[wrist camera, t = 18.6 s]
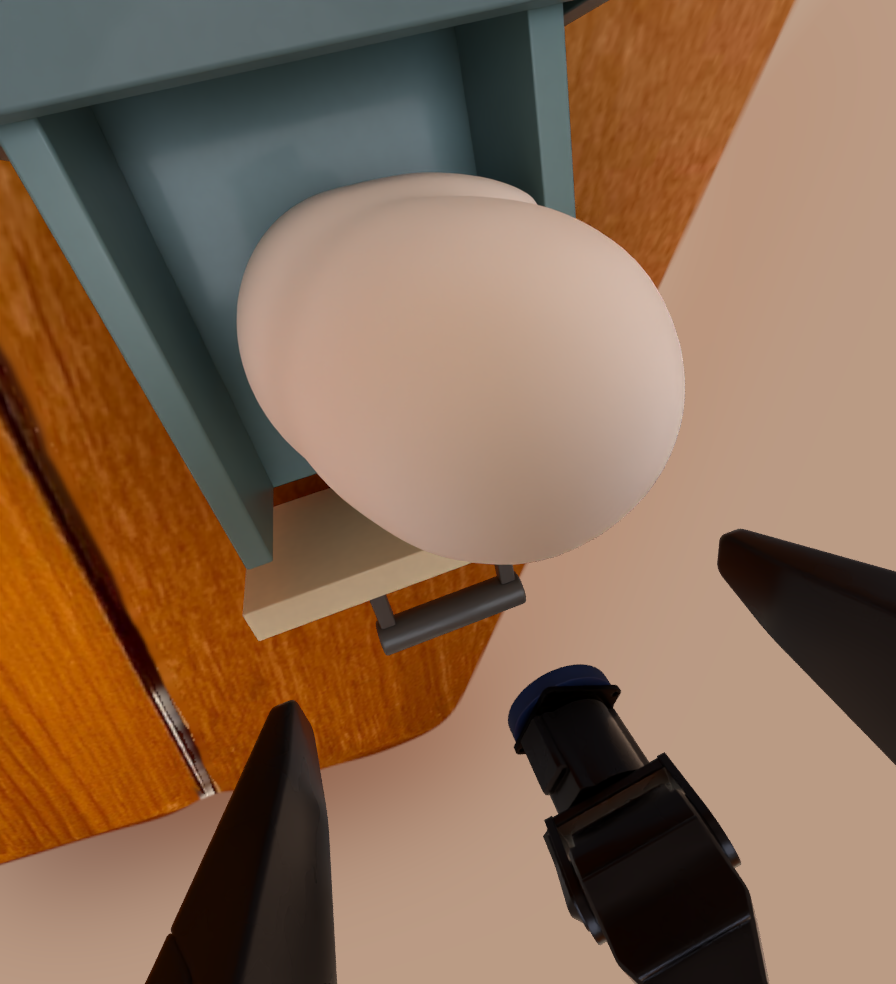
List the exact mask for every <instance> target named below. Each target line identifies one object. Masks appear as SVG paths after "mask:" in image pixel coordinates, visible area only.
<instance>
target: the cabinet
mask: <svg viewBox="0 0 896 984" xmlns="http://www.w3.org/2000/svg"><path fill="white" fill-rule="evenodd" d="M607 1H608V0H0V125H3V124H8V123H13V122H17V121H22V120H26V119H31V118H36V117H40V116H45V115H49V114H54V113H58V112H63V111H68V110H72V109H77V108H81V107H86V106H91V105H95V104H100V103H104V102H109V101H113V100H118V99H123V98H127V97H132V96H136V95H141V94H146V93H150V92H155V91H159V90H164V89H168V88H173V87H178V86H182V85H187V84H191V83H196V82H201V81H205V80H210V79H214V78H219V77H223V76H228V75H233V74H237V73H242V72H246V71H251V70H256V69H260V68H265V67H269V66H274V65H278V64H283V63H288V62H292V61H297V60H301V59H306V58H311V57H315V56H320V55H324V54H329V53H333V52H338V51H343V50H347V49H352V48H356V47H361V46H366V45H370V44H375V43H379V42H384V41H388V40H393V39H398V38H402V37H407V36H411V35H416V34H421V33H425V32H430V31H434V30H439V29H444V28H448V27H453V26H457V25H462V24H466V23H471V22H476V21H480V20H485V19H489V18H494V17H499V16H503V15H508V14H512V13H517V12H521V11H526V10H531V9H535V8H540V7H544V6H549V5H554V4H558V3H563V16H564V26H566V25H567V24H569V23H571V22H573V21H574V20H576V19H578V18H579V17H581V16H583V15H584V14H586V13H588V12H590V11H591V10H593V9H595V8H596V7H598V6H600V5H601V4H603V3H605V2H607ZM0 160H6V161H9V159H8V157H7V155H6V154H5V152H4V150H3V148H2V147H1V145H0Z"/></svg>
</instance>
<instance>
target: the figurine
mask: <svg viewBox="0 0 896 984" xmlns="http://www.w3.org/2000/svg"><path fill="white" fill-rule="evenodd" d="M237 338H238V345H239V351H240V356H241V360H242V364H243V367H244V370H245V374H246V376H247V379H248V382H249V384H250V387H251V389H252V391H253V393H254V395H255V397H256V399H257V401H258V403H259V405H260V406H261V408H262V410H263V411H264V413H265V414H266V416H267V417H268V419H269V420H270V422H271V423H272V425H273V426H274V427H275V428H276V430H277V431H278V432H279V433H280V434H281V436H282V437H283V438H284V439H285V440H286V441H287V442H288V443H289V444H290V445H291V446H292V447H293V448H294V449H295V450H296V451H297V452H298V453H299V454H301V455H302V456H303V457H304V458H305V459H306V460H307V461H308V463H309V464H310V465H311V466H312V468H313V469H314V470H315V471H316V472H317V474H318V475H319V476H320V477H321V478H322V479H323V480H324V481H325V483H326V484H327V485H328V486H329V487H330V488H331V489H333V490H334V491H335V492H336V493H337V494H338V495H339V496H340V497H341V498H342V499H343V500H345V501H346V502H347V503H348V504H350V505H351V506H352V507H353V508H355V509H356V510H357V511H359V512H360V513H361V514H363V515H364V516H366V517H367V518H368V519H370V520H371V521H373V522H374V523H376V524H377V525H379V526H380V527H382V528H383V529H385V530H386V531H388V532H389V533H391V534H393V535H394V536H396V537H398V538H400V539H401V540H403V541H405V542H407V543H409V544H411V545H413V546H415V547H417V548H419V549H422V550H424V551H427V552H429V553H432V554H435V555H439V556H442V557H446V558H450V559H455V560H460V561H466V562H473V563H483V564H496V565H512V564H523V563H531V562H537V561H541V560H545V559H548V558H552V557H555V556H558V555H561V554H564V553H566V552H568V551H571V550H573V549H575V548H578V547H579V546H582V545H584V544H585V543H587V542H589V541H591V540H593V539H594V538H596V537H598V536H599V535H601V534H603V533H604V532H606V531H607V530H608V529H609V528H611V527H612V526H613V525H615V524H616V523H617V522H619V521H620V520H621V519H622V518H623V517H625V516H626V515H627V514H628V513H629V512H630V511H631V510H632V509H633V508H634V507H635V506H636V505H637V504H638V503H639V502H640V501H641V500H642V499H643V498H644V497H645V496H646V494H647V493H648V492H649V490H650V489H651V488H652V486H653V485H654V483H655V482H656V480H657V479H658V477H659V476H660V474H661V472H662V471H663V469H664V467H665V465H666V463H667V461H668V459H669V457H670V455H671V452H672V450H673V447H674V445H675V442H676V439H677V436H678V432H679V429H680V426H681V421H682V416H683V411H684V400H685V399H684V398H685V375H684V365H683V357H682V351H681V346H680V342H679V339H678V336H677V333H676V330H675V326H674V324H673V320H672V318H671V316H670V314H669V311H668V309H667V307H666V305H665V302H664V301H663V298H662V296H661V294H660V293H659V291H658V290H657V288H656V287H655V285H654V283H653V282H652V280H651V279H650V277H649V276H648V274H647V273H646V272H645V271H644V270H643V268H642V267H641V266H640V265H639V264H638V262H637V261H636V260H635V259H634V258H633V257H632V256H631V255H629V254H628V253H627V252H626V251H625V250H624V249H623V248H622V247H621V246H619V245H618V244H617V243H615V242H614V241H613V240H611V239H610V238H608V237H607V236H605V235H604V234H602V233H601V232H599V231H598V230H596V229H595V228H593V227H591V226H589V225H588V224H586V223H584V222H582V221H580V220H578V219H576V218H574V217H571V216H569V215H567V214H564V213H562V212H559V211H556V210H553V209H551V208H547V207H544V206H540V205H537V203H536V202H535V200H534V199H533V198H532V197H531V196H530V195H528V194H527V193H525V192H524V191H522V190H520V189H518V188H516V187H514V186H511V185H509V184H506V183H503V182H500V181H497V180H493V179H489V178H484V177H479V176H472V175H466V174H455V173H441V172H422V173H409V174H402V175H395V176H389V177H384V178H379V179H374V180H370V181H365V182H361V183H357V184H352V185H348V186H344V187H340V188H336V189H332V190H328V191H325V192H322V193H319V194H317V195H314V196H312V197H310V198H307V199H305V200H304V201H302V202H300V203H298V204H297V205H295V206H293V207H292V208H291V209H289V210H288V211H287V212H285V213H284V214H283V215H282V216H281V217H280V218H278V219H277V220H276V221H275V222H274V223H273V224H272V226H271V227H270V228H269V229H268V230H267V231H266V233H265V234H264V235H263V237H262V238H261V240H260V241H259V243H258V244H257V246H256V248H255V249H254V251H253V253H252V255H251V257H250V259H249V261H248V264H247V266H246V269H245V272H244V275H243V278H242V282H241V286H240V290H239V296H238V303H237Z"/></svg>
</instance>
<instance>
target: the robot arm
mask: <svg viewBox="0 0 896 984" xmlns="http://www.w3.org/2000/svg"><path fill="white" fill-rule="evenodd" d="M717 565H718V569H719V572H720V574H721V575H722V577H723V578H724V579H725V581H726V582H727V583H728V584H729V586H730V587H731V588H732V589H733V591H734V592H735V593H736V594H737V596H738V597H739V598H740V599H741V601H742V602H743V603H744V604H745V606H746V607H747V608H748V609H749V611H750V612H751V613H752V614H753V615H754V617H755V618H756V619H757V621H758V622H759V623H760V624H761V626H763V628H764V629H765V630H766V631H767V633H768V634H769V635H770V636H771V637H772V638H773V639H774V640H775V641H776V642H777V643H778V644H779V646H780V647H781V648H782V649H783V650H784V651H785V652H786V653H787V654H788V655H789V656H790V657H791V658H792V659H793V660H794V661H795V662H796V663H797V664H798V665H799V666H800V667H801V668H802V669H803V670H804V671H805V672H806V673H807V674H808V675H809V676H810V677H811V679H813V681H814V682H816V684H817V685H818V686H819V687H820V688H821V689H822V690H823V691H824V692H825V693H826V694H827V695H828V696H829V697H830V698H831V699H832V700H833V701H834V702H835V703H836V704H837V705H838V706H839V707H840V708H841V709H842V710H843V711H844V712H845V713H846V714H847V716H848V717H849V718H850V719H851V720H852V721H853V722H854V723H855V724H856V725H857V726H858V727H859V728H860V729H861V730H862V731H863V732H864V733H865V734H866V735H867V736H868V737H869V738H870V739H871V740H872V741H873V742H874V743H875V744H876V745H877V746H878V747H879V748H880V749H881V750H882V752H884V754H885V755H886V756H887V757H888V758H889V759H890V760H891V761H892V762H893V763H894V764H895V765H896V572H895V571H892V570H888V569H885V568H881V567H877V566H874V565H870V564H867V563H863V562H859V561H855V560H852V559H849V558H845V557H842V556H838V555H834V554H831V553H827V552H823V551H820V550H817V549H813V548H809V547H805V546H802V545H799V544H795V543H791V542H788V541H784V540H781V539H777V538H774V537H770V536H766V535H762V534H759V533H756V532H752V531H748V530H744V529H737V530H734V531H731V532H729V533H727V534H724V535H722V537H721V538H720V541H719V552H718V561H717ZM620 694H621V690H620V688H619V687H618V686H617V685H584V686H551V687H547V688H545V689H544V690H543V691H542V693H541V695H540V697H539V699H538V701H537V703H536V704H535V706H534V708H533V710H532V712H531V714H530V716H529V718H528V720H527V722H526V724H525V726H524V727H523V729H522V731H521V733H520V735H519V737H518V739H517V741H516V743H515V745H514V749H515V752H516V754H518V755H521V754H526V755H527V757H528V759H529V762H530V764H531V766H532V768H533V771H534V773H535V775H536V777H537V780H538V782H539V784H540V786H541V789H542V790H543V792H544V793H545V795H550V796H551V799H552V801H553V803H554V805H555V807H556V810H557V812H558V815H556V816H554V817H552V816H551V817H549V818H547V819H545V823H546V826H547V832H546V833H545V834H544V836H543V837H544V840H545V842H546V845H547V847H548V849H549V852H550V854H551V857H552V859H553V862H554V864H555V867H556V870H557V874H558V877H559V880H560V884H561V887H562V890H563V894H564V897H565V901H566V904H567V907H568V910H569V912H570V914H571V916H572V917H573V918H574V919H576V920H578V921H580V922H582V923H584V925H585V927H586V928H587V930H588V931H590V932H591V934H592V936H593V937H594V939H595V940H596V942H597V943H598V945H601V944H603V943H605V942H608V945H609V947H610V949H611V951H612V953H613V956H614V958H615V960H616V962H617V963H618V965H619V966H620V967H621V969H622V970H623V971H624V972H625V973H626V974H627V975H628V976H629V977H630V979H631V980H632V981H633V982H634V983H635V984H769V979H768V974H767V969H766V964H765V959H764V953H763V948H762V943H761V938H760V933H759V928H758V923H757V919H756V915H755V911H754V908H753V904H752V900H751V896H750V893H749V890H748V889H747V887H746V885H745V883H744V882H743V881H742V879H741V877H740V876H739V874H738V873H737V871H736V870H735V868H736V867H738V866H739V865H741V861H740V859H739V857H738V855H737V853H736V851H735V849H734V848H733V846H732V844H731V842H730V840H729V839H728V837H727V836H726V834H725V832H724V831H723V829H722V828H721V826H720V825H719V823H718V822H717V820H716V819H715V818H714V816H713V815H712V813H711V812H710V810H709V809H708V808H707V807H706V805H705V804H704V802H703V801H702V800H701V799H700V797H699V796H698V795H697V794H696V792H695V791H694V790H693V788H692V787H691V786H690V785H689V783H688V782H687V781H686V779H685V778H684V777H683V775H682V774H681V773H680V772H679V770H678V769H677V768H676V766H675V765H674V764H673V763H672V761H671V760H670V759H669V757H668V756H667V755H666V754H665V752H664V753H662V754H660V755H658V756H657V758H656V759H655V760H653V761H651V762H649V761H648V760H647V758H646V757H645V755H644V754H643V752H642V751H641V749H640V748H639V746H638V745H637V743H636V742H635V741H634V738H633V737H632V736H631V734H630V732H629V731H628V729H627V728H626V726H625V725H624V723H623V722H622V720H621V719H620V717H619V716H618V714H617V713H616V711H615V710H614V709H613V705H614V704H615V702H616V700H617V699H618V697H619V696H620ZM171 932H172V934H169V935H168V936H167V937H166V940H165V942H164V944H163V947H162V949H161V951H160V953H159V955H158V957H157V959H156V961H155V964H154V966H153V968H152V970H151V972H150V974H149V976H148V978H147V981H146V982H145V984H337V974H336V955H335V937H334V918H333V901H332V880H331V862H330V843H329V827H328V817H327V810H326V803H325V798H324V791H323V786H322V779H321V773H320V767H319V761H318V755H317V749H316V743H315V737H314V733H313V729H312V727H311V724H310V723H309V721H308V719H307V718H306V716H305V714H304V713H303V711H302V710H301V708H300V706H299V705H298V703H297V702H296V701H294V700H290V701H288V702H285V703H282V704H280V705H277V706H275V707H273V708H272V710H271V711H270V713H269V715H268V717H267V719H266V722H265V724H264V726H263V728H262V730H261V732H260V735H259V737H258V739H257V741H256V743H255V746H254V748H253V750H252V752H251V754H250V757H249V759H248V761H247V763H246V765H245V767H244V770H243V772H242V774H241V776H240V778H239V781H238V783H237V785H236V787H235V789H234V791H233V794H232V796H231V798H230V800H229V802H228V805H227V807H226V809H225V811H224V813H223V815H222V818H221V820H220V822H219V824H218V826H217V829H216V831H215V833H214V835H213V838H212V840H211V842H210V844H209V846H208V848H207V851H206V853H205V855H204V857H203V859H202V861H201V864H200V866H199V868H198V870H197V872H196V875H195V877H194V879H193V881H192V884H191V885H190V888H189V890H188V892H187V894H186V897H185V899H184V901H183V903H182V905H181V907H180V909H179V912H178V914H177V916H176V918H175V921H174V923H173V925H172V927H171Z"/></svg>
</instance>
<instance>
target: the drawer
mask: <svg viewBox="0 0 896 984" xmlns="http://www.w3.org/2000/svg"><path fill="white" fill-rule="evenodd" d="M0 145H1V147H2V148H3V150H4V152H5V154H6V155H7V157H8V159H9V161H10V162H11V164H12V166H13V167H14V169H15V171H16V173H17V174H18V176H19V178H20V179H21V181H22V183H23V185H24V186H25V188H26V190H27V192H28V193H29V195H30V197H31V198H32V200H33V202H34V204H35V205H36V207H37V209H38V210H39V212H40V214H41V216H42V217H43V219H44V221H45V223H46V224H47V226H48V228H49V229H50V231H51V233H52V235H53V236H54V238H55V240H56V241H57V243H58V245H59V247H60V248H61V250H62V252H63V254H64V255H65V257H66V259H67V260H68V262H69V264H70V266H71V267H72V269H73V271H74V273H75V274H76V276H77V278H78V279H79V281H80V283H81V285H82V286H83V288H84V290H85V291H86V293H87V295H88V297H89V298H90V300H91V302H92V304H93V305H94V307H95V309H96V310H97V312H98V314H99V316H100V317H101V319H102V321H103V322H104V324H105V326H106V328H107V329H108V331H109V333H110V335H111V336H112V338H113V340H114V341H115V343H116V345H117V347H118V348H119V350H120V352H121V353H122V355H123V357H124V359H125V360H126V362H127V364H128V366H129V367H130V369H131V371H132V372H133V374H134V376H135V378H136V379H137V381H138V383H139V384H140V386H141V388H142V390H143V391H144V393H145V395H146V397H147V398H148V400H149V402H150V403H151V405H152V407H153V409H154V410H155V412H156V414H157V415H158V417H159V419H160V421H161V422H162V424H163V426H164V428H165V429H166V431H167V433H168V434H169V436H170V438H171V440H172V441H173V443H174V445H175V446H176V448H177V450H178V452H179V453H180V455H181V457H182V459H183V460H184V462H185V464H186V465H187V467H188V469H189V471H190V472H191V474H192V476H193V478H194V479H195V481H196V483H197V484H198V486H199V488H200V490H201V491H202V493H203V495H204V496H205V498H206V500H207V502H208V503H209V505H210V507H211V509H212V510H213V512H214V514H215V515H216V517H217V519H218V521H219V522H220V524H221V526H222V527H223V529H224V531H225V533H226V534H227V536H228V538H229V540H230V541H231V543H232V545H233V546H234V548H235V550H236V552H237V553H238V555H239V557H240V558H241V560H242V562H243V564H244V565H245V567H246V579H245V592H244V605H243V617H244V619H245V620H246V622H247V623H248V625H249V627H250V628H251V630H252V631H253V633H254V634H255V636H256V638H257V639H258V641H261V640H263V639H266V638H269V637H271V636H274V635H277V634H280V633H282V632H285V631H288V630H290V629H293V628H296V627H299V626H301V625H304V624H307V623H309V622H312V621H315V620H318V619H320V618H323V617H326V616H328V615H331V614H334V613H337V612H339V611H342V610H345V609H347V608H350V607H353V606H356V605H358V604H361V603H364V602H366V601H369V600H370V603H371V605H372V607H373V610H374V612H375V615H376V617H377V619H378V621H377V622H376V629H377V633H378V636H379V639H380V642H381V645H382V648H383V650H384V652H385V654H386V655H391V654H393V653H396V652H399V651H401V650H404V649H406V648H409V647H412V646H414V645H417V644H419V643H422V642H425V641H427V640H430V639H432V638H435V637H438V636H440V635H443V634H445V633H448V632H451V631H453V630H456V629H458V628H461V627H464V626H466V625H469V624H471V623H474V622H477V621H479V620H482V619H484V618H487V617H490V616H492V615H495V614H497V613H500V612H503V611H505V610H508V609H510V608H513V607H515V606H518V605H521V604H523V603H525V602H526V595H525V591H524V588H523V585H522V583H521V581H520V579H519V577H518V575H517V574H516V573H515V572H514V571H513V565H496V564H494V565H495V569H496V574H497V576H496V577H493V578H491V579H488V580H485V581H483V582H480V583H477V584H475V585H472V586H469V587H467V588H464V589H461V590H459V591H456V592H453V593H451V594H448V595H445V596H443V597H440V598H437V599H435V600H432V601H429V602H427V603H424V604H421V605H419V606H416V607H413V608H411V609H408V610H405V611H403V612H400V613H397V614H395V615H394V614H393V611H392V609H391V606H390V604H389V601H388V599H387V596H386V594H388V593H391V592H394V591H396V590H399V589H402V588H404V587H407V586H410V585H413V584H415V583H418V582H421V581H423V580H426V579H429V578H432V577H434V576H437V575H440V574H442V573H445V572H448V571H451V570H453V569H456V568H459V567H462V566H464V565H467V564H470V563H472V562H466V561H460V560H455V559H450V558H446V557H442V556H439V555H435V554H432V553H429V552H427V551H424V550H422V549H419V548H417V547H415V546H413V545H411V544H409V543H407V542H405V541H403V540H401V539H400V538H398V537H396V536H394V535H393V534H391V533H389V532H388V531H386V530H385V529H383V528H382V527H380V526H379V525H377V524H376V523H374V522H373V521H371V520H370V519H368V518H367V517H366V516H364V515H363V514H361V513H360V512H359V511H357V510H356V509H355V508H353V507H352V506H351V505H350V504H348V503H347V502H346V501H345V500H343V499H342V498H341V497H340V496H339V495H338V494H337V493H336V492H335V491H334V490H333V489H331V488H328V489H325V490H322V491H319V492H316V493H313V494H310V495H307V496H304V497H301V498H298V499H295V500H292V501H289V502H287V503H284V504H281V505H278V506H275V507H273V488H274V487H277V486H280V485H283V484H286V483H289V482H292V481H295V480H298V479H301V478H304V477H307V476H311V475H314V474H317V472H316V471H315V470H314V469H313V468H312V466H311V465H310V464H309V463H308V461H307V460H306V459H305V458H304V457H303V456H302V455H301V454H299V453H298V452H297V451H296V450H295V449H294V448H293V447H292V446H291V445H290V444H289V443H288V442H287V441H286V440H285V439H284V438H283V437H282V436H281V434H280V433H279V432H278V431H277V430H276V428H275V427H274V426H273V425H272V423H271V422H270V420H269V419H268V417H267V416H266V414H265V413H264V411H263V410H262V408H261V406H260V405H259V403H258V401H257V399H256V397H255V395H254V393H253V391H252V389H251V387H250V384H249V382H248V379H247V376H246V374H245V370H244V367H243V364H242V360H241V356H240V351H239V345H238V338H237V303H238V296H239V290H240V286H241V282H242V278H243V275H244V272H245V269H246V266H247V264H248V261H249V259H250V257H251V255H252V253H253V251H254V249H255V248H256V246H257V244H258V243H259V241H260V240H261V238H262V237H263V235H264V234H265V233H266V231H267V230H268V229H269V228H270V227H271V226H272V224H273V223H274V222H275V221H276V220H277V219H278V218H280V217H281V216H282V215H283V214H284V213H285V212H287V211H288V210H289V209H291V208H292V207H293V206H295V205H297V204H298V203H300V202H302V201H304V200H305V199H307V198H310V197H312V196H314V195H317V194H319V193H322V192H325V191H328V190H332V189H336V188H340V187H344V186H348V185H352V184H357V183H361V182H365V181H370V180H374V179H379V178H384V177H389V176H395V175H402V174H409V173H422V172H441V173H455V174H466V175H472V176H479V177H484V178H489V179H493V180H497V181H500V182H503V183H506V184H509V185H511V186H514V187H516V188H518V189H520V190H522V191H524V192H525V193H527V194H528V195H530V196H531V197H532V198H533V199H534V200H535V202H536V203H537V205H540V206H544V207H547V208H551V209H553V210H556V211H559V212H562V213H564V214H567V215H569V216H571V217H574V218H576V215H575V198H574V181H573V165H572V148H571V132H570V115H569V99H568V82H567V65H566V49H565V32H564V16H563V3H558V4H554V5H549V6H544V7H540V8H535V9H531V10H526V11H521V12H517V13H512V14H508V15H503V16H499V17H494V18H489V19H485V20H480V21H476V22H471V23H466V24H462V25H457V26H453V27H448V28H444V29H439V30H434V31H430V32H425V33H421V34H416V35H411V36H407V37H402V38H398V39H393V40H388V41H384V42H379V43H375V44H370V45H366V46H361V47H356V48H352V49H347V50H343V51H338V52H333V53H329V54H324V55H320V56H315V57H311V58H306V59H301V60H297V61H292V62H288V63H283V64H278V65H274V66H269V67H265V68H260V69H256V70H251V71H246V72H242V73H237V74H233V75H228V76H223V77H219V78H214V79H210V80H205V81H201V82H196V83H191V84H187V85H182V86H178V87H173V88H168V89H164V90H159V91H155V92H150V93H146V94H141V95H136V96H132V97H127V98H123V99H118V100H113V101H109V102H104V103H100V104H95V105H91V106H86V107H81V108H77V109H72V110H68V111H63V112H58V113H54V114H49V115H45V116H40V117H36V118H31V119H26V120H22V121H17V122H13V123H8V124H3V125H0Z"/></svg>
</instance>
